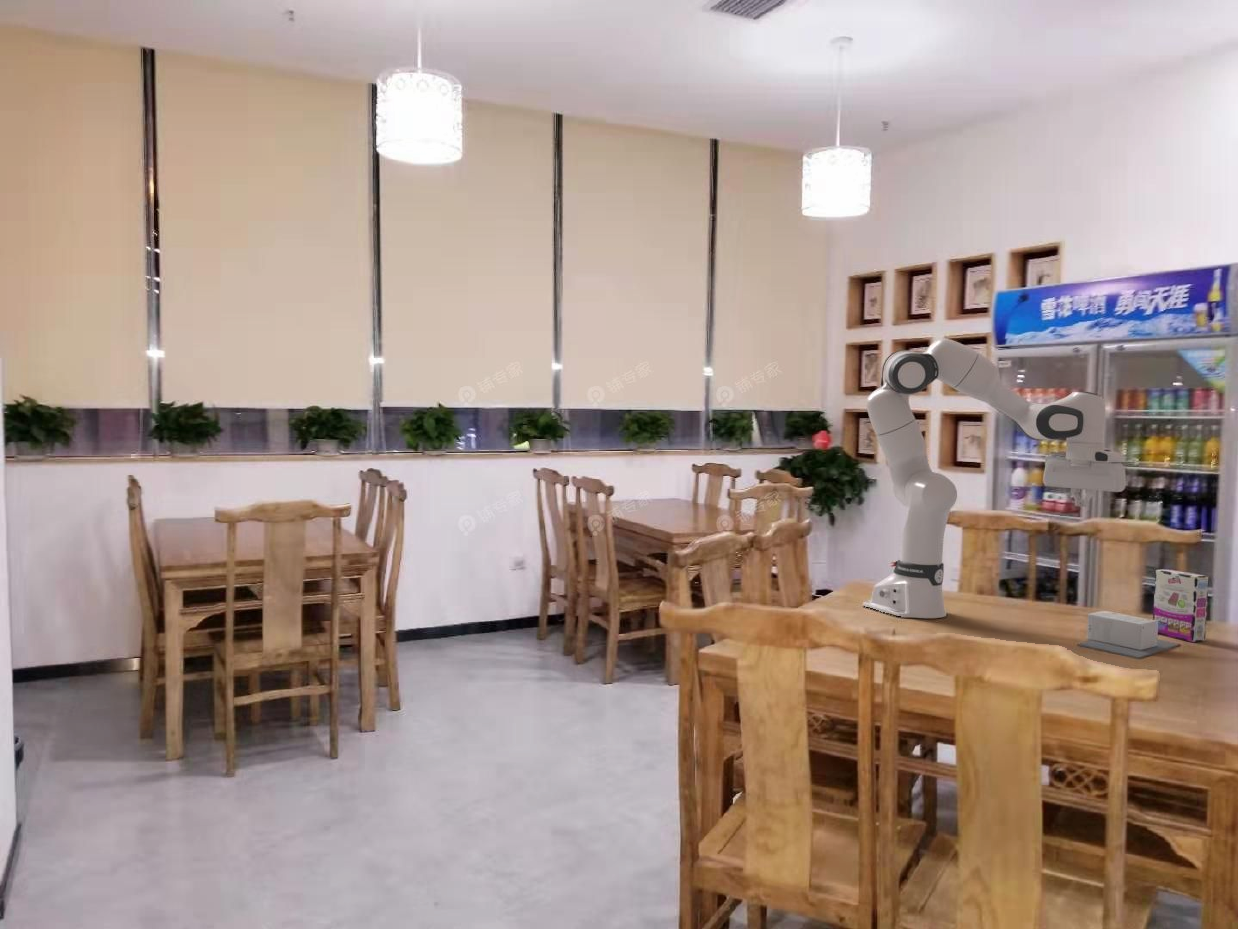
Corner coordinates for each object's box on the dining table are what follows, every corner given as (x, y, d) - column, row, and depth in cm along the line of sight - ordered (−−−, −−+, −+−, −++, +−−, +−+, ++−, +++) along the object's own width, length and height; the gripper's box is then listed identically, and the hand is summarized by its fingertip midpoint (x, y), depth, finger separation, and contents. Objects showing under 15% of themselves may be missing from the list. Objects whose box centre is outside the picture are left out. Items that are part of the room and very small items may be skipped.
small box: (1085, 639, 228) (1140, 650, 217) (1087, 613, 228) (1141, 623, 217) (1103, 635, 233) (1157, 646, 222) (1104, 610, 232) (1159, 620, 222)
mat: (1077, 645, 223) (1077, 643, 223) (1120, 633, 236) (1120, 631, 236) (1138, 658, 212) (1138, 657, 212) (1180, 645, 225) (1180, 643, 225)
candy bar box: (1206, 641, 230) (1210, 575, 229) (1192, 643, 228) (1196, 576, 227) (1164, 631, 240) (1168, 568, 239) (1150, 632, 238) (1154, 569, 237)
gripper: (1039, 451, 250) (1037, 503, 251) (1118, 456, 234) (1115, 510, 235) (1051, 451, 254) (1049, 502, 255) (1130, 455, 238) (1127, 509, 238)
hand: (1081, 506), depth 244 cm, fingers closed
